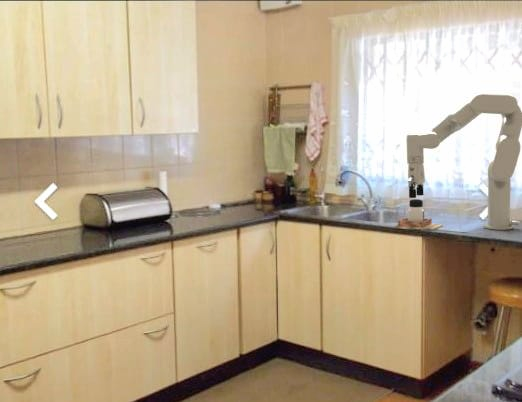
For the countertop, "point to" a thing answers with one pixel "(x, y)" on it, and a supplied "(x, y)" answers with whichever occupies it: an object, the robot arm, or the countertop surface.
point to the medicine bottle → (416, 210)
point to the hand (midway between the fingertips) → (416, 196)
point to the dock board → (418, 224)
